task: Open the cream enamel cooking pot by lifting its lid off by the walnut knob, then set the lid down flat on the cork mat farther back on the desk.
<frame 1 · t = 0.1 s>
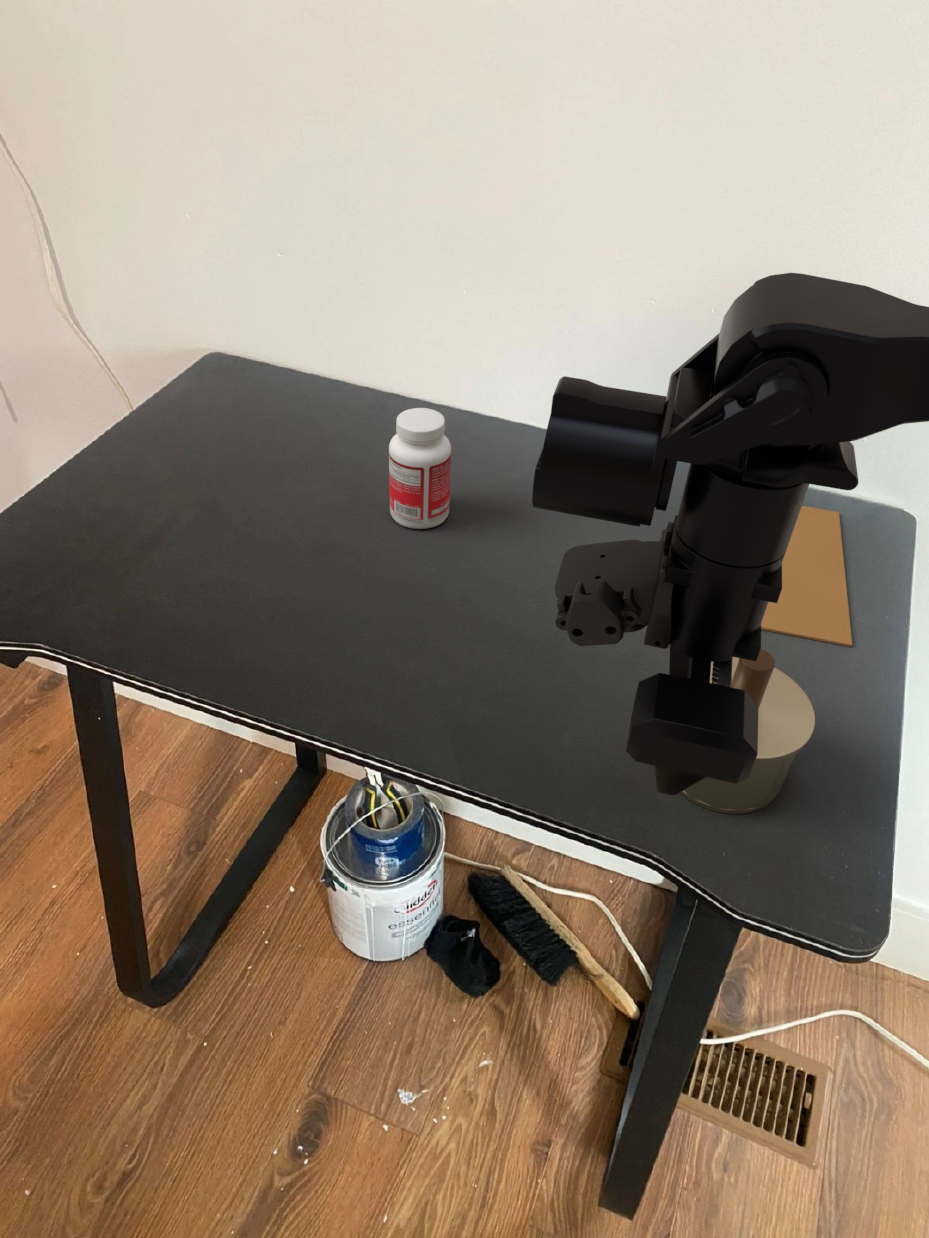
hand: (671, 735, 58), 12 cm above the table, tool pointing down, fingers open, 9 cm apart
pot: (720, 764, 72), on the table
lid: (740, 707, 68), point 6 cm above the table, touching pot
pill bottle: (419, 515, 96), on the table
mat: (772, 561, 92), on the table
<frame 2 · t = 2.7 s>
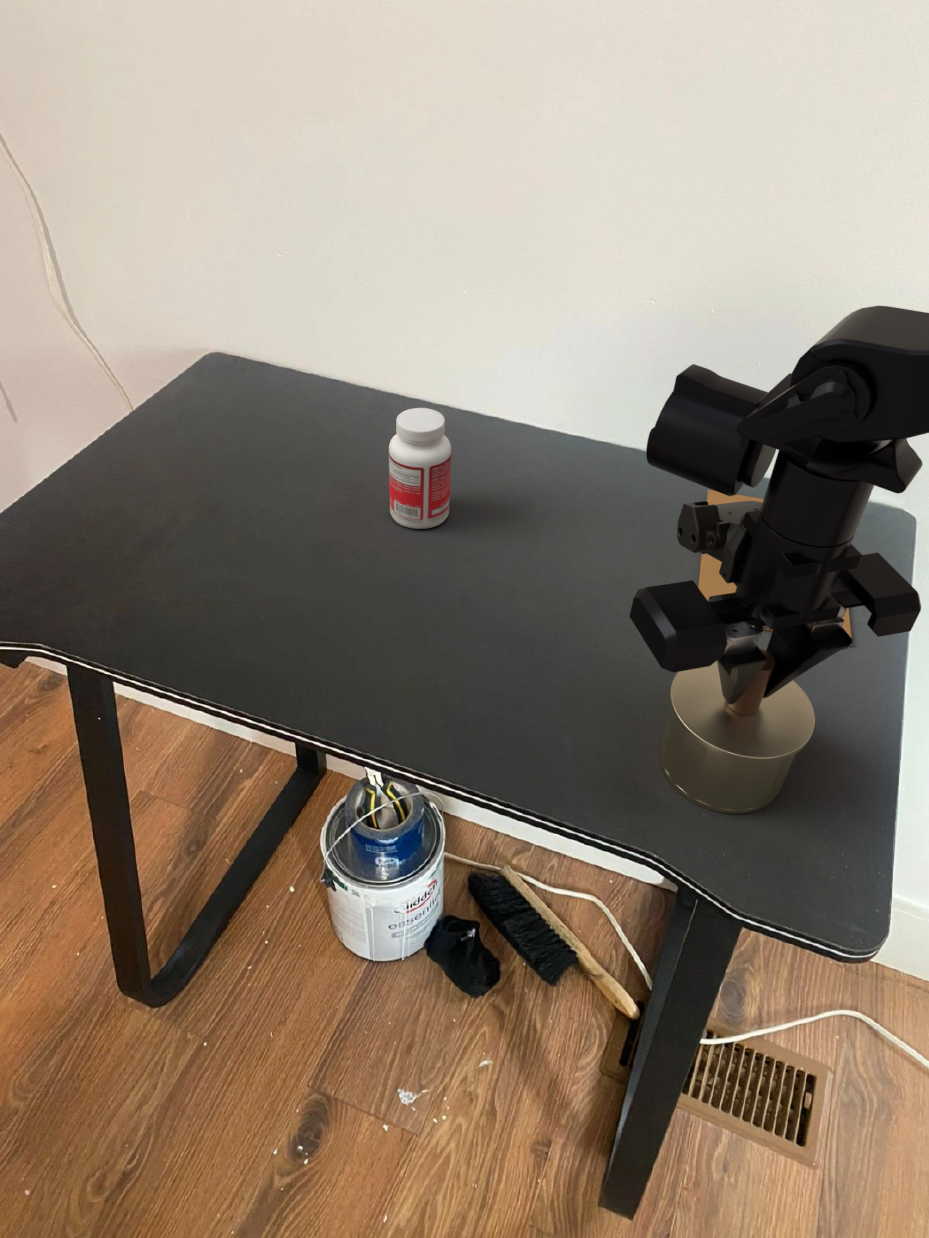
hand: (744, 696, 67), 8 cm above the table, tool pointing down, fingers closed on lid, 2 cm apart
lid: (740, 707, 68), point 6 cm above the table, touching gripper, pot
everything else where it was.
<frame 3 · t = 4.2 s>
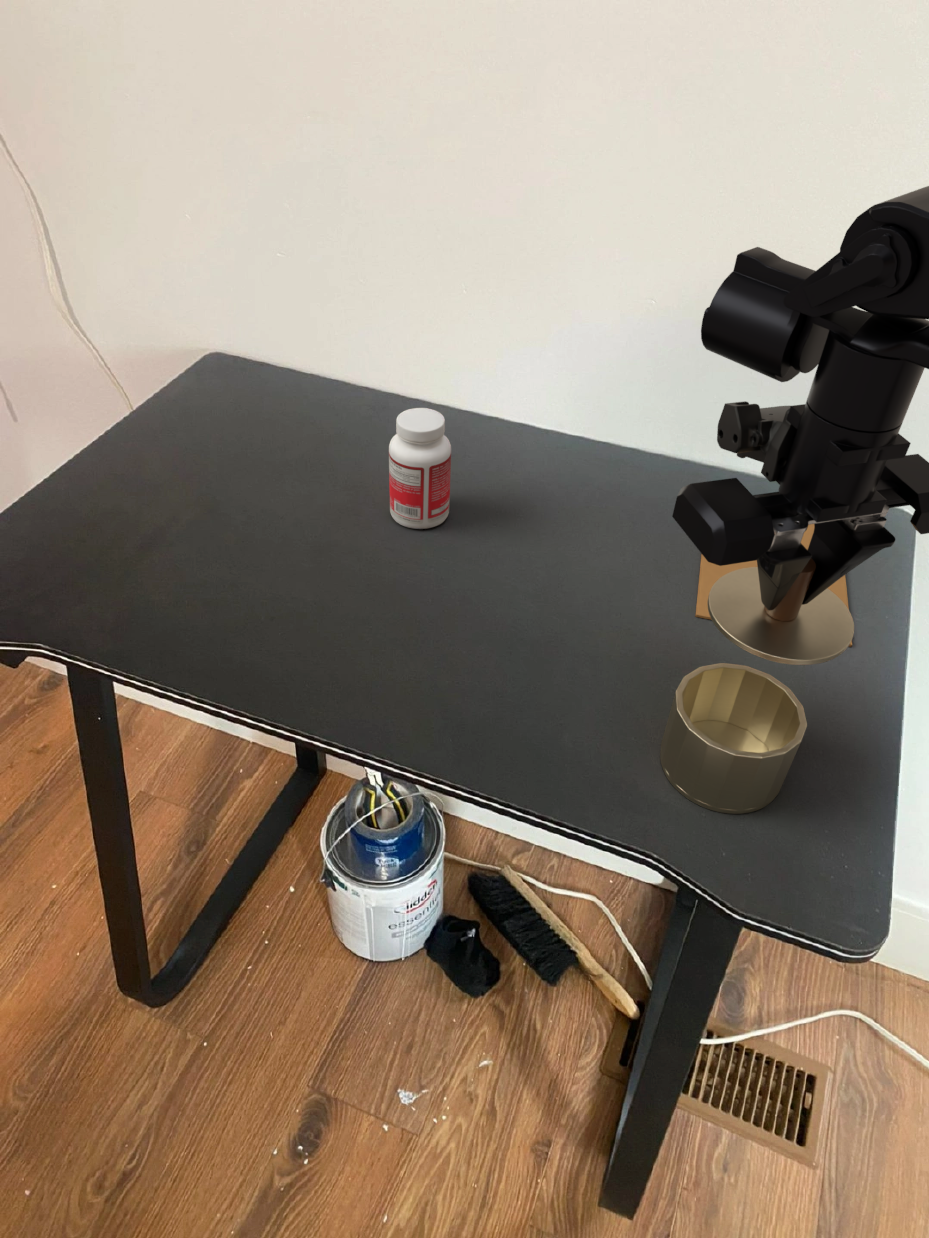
hand: (783, 603, 67), 13 cm above the table, tool pointing down, fingers closed on lid, 2 cm apart
lid: (778, 615, 67), point 12 cm above the table, touching gripper
everything else where it was.
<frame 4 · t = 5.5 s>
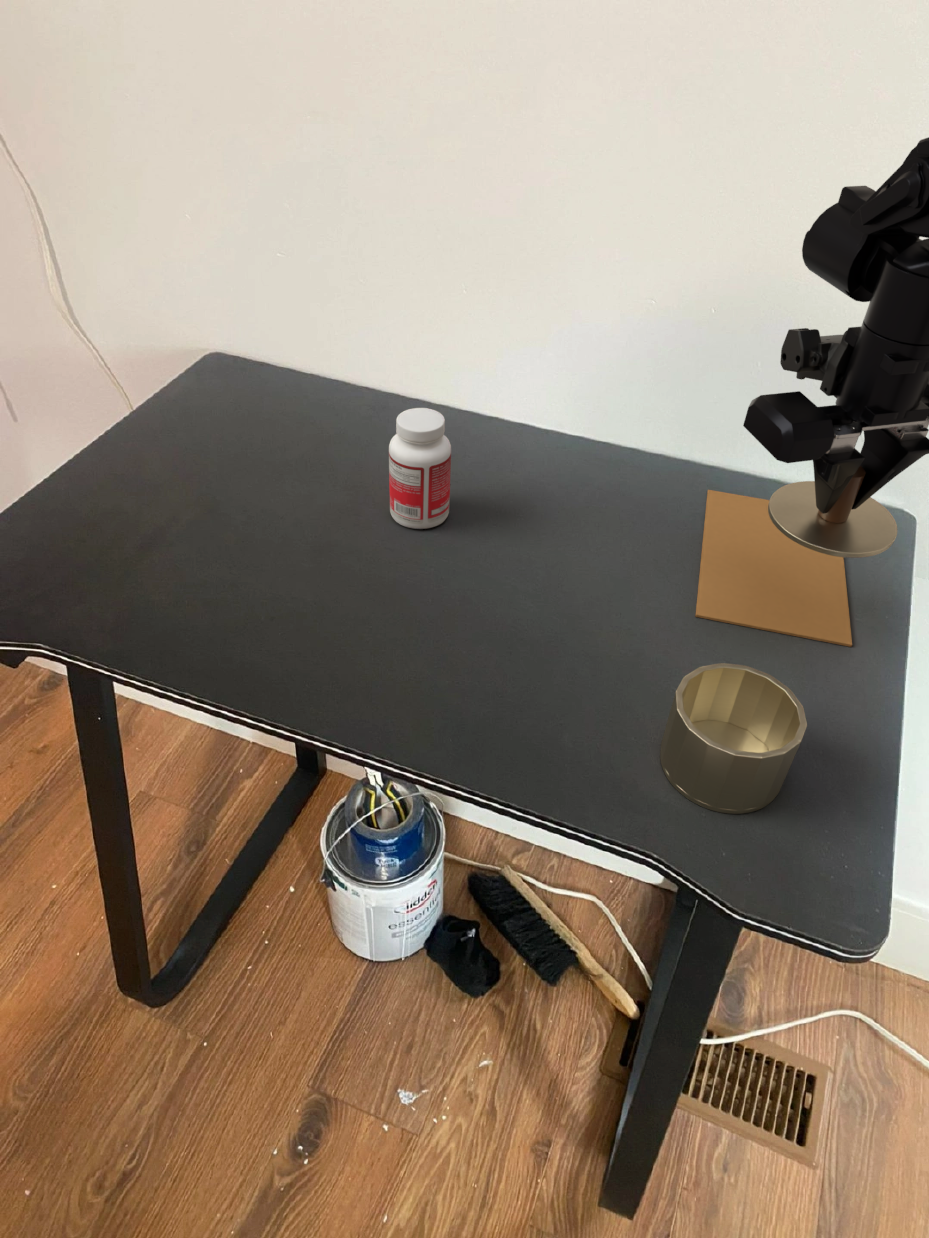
hand: (835, 508, 76), 13 cm above the table, tool pointing down, fingers closed on lid, 2 cm apart
lid: (830, 520, 77), point 12 cm above the table, touching gripper
everything else where it was.
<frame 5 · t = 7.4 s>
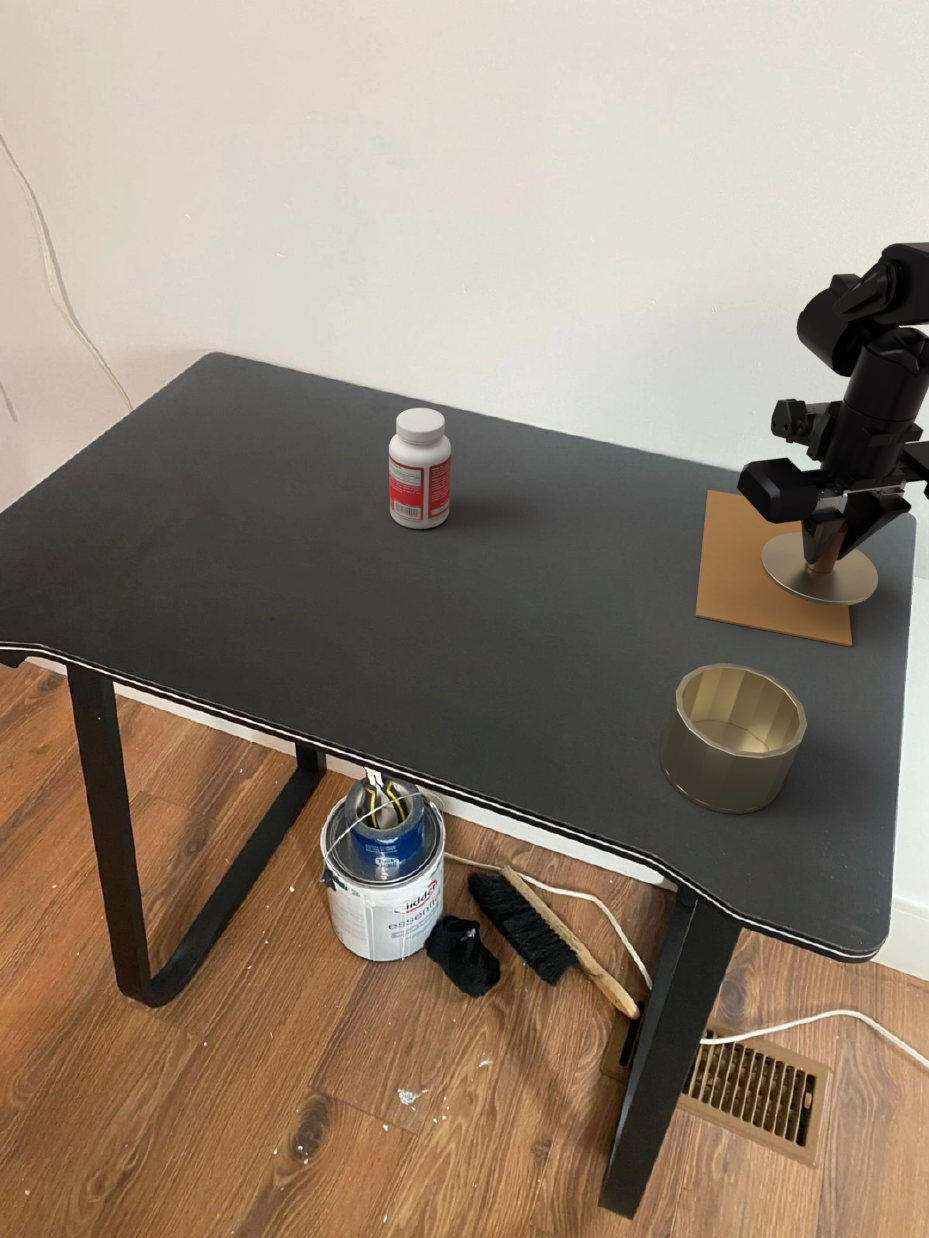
hand: (822, 559, 84), 5 cm above the table, tool pointing down, fingers closed on lid, 2 cm apart
lid: (817, 569, 84), point 4 cm above the table, touching gripper
everything else where it was.
when the fingers open (2 cm above the table, at t = 8.5 s): lid stays where it is, resting on mat.
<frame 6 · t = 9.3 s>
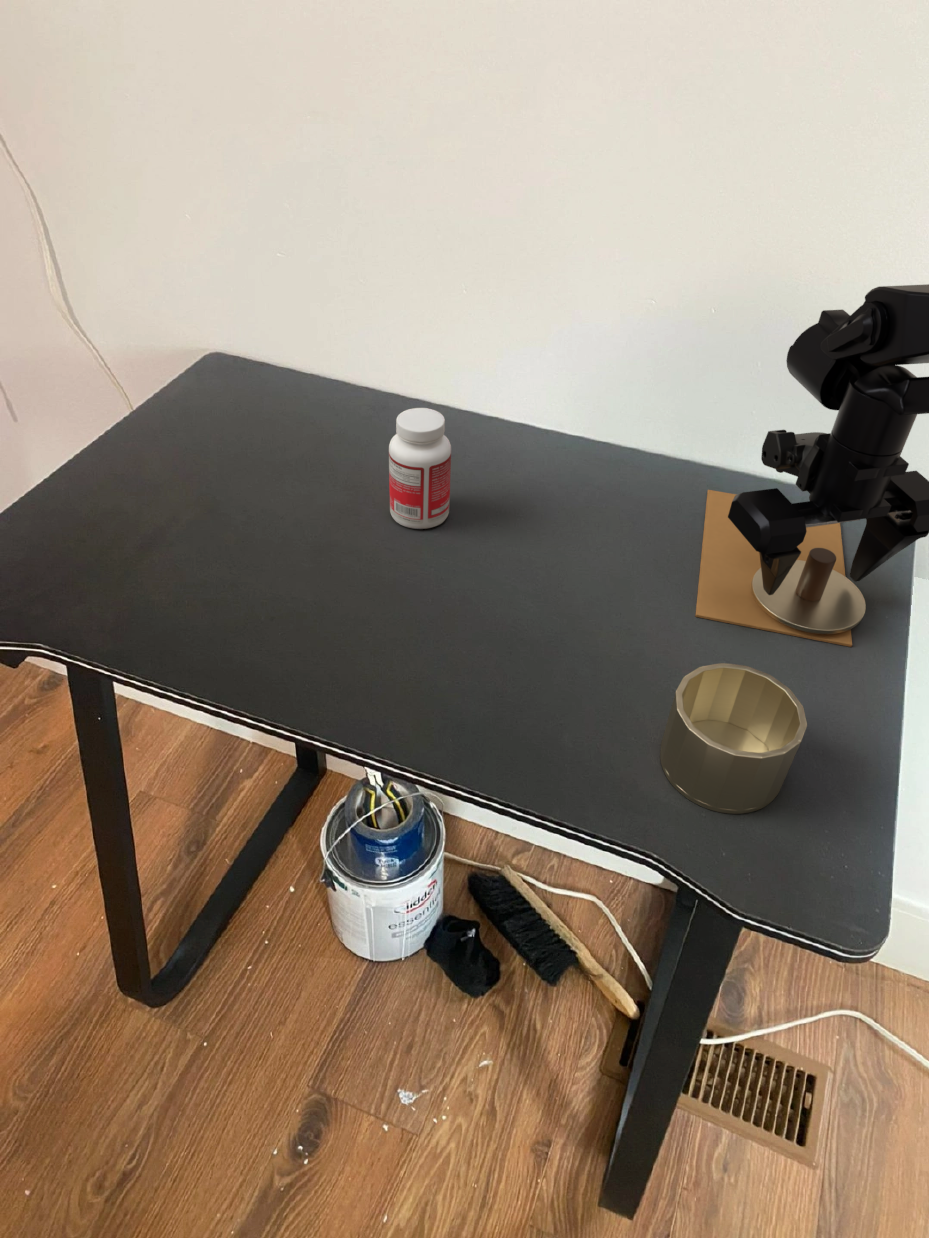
hand: (811, 585, 86), 2 cm above the table, tool pointing down, fingers open, 9 cm apart
lid: (807, 597, 87), point 1 cm above the table, touching mat
everything else where it was.
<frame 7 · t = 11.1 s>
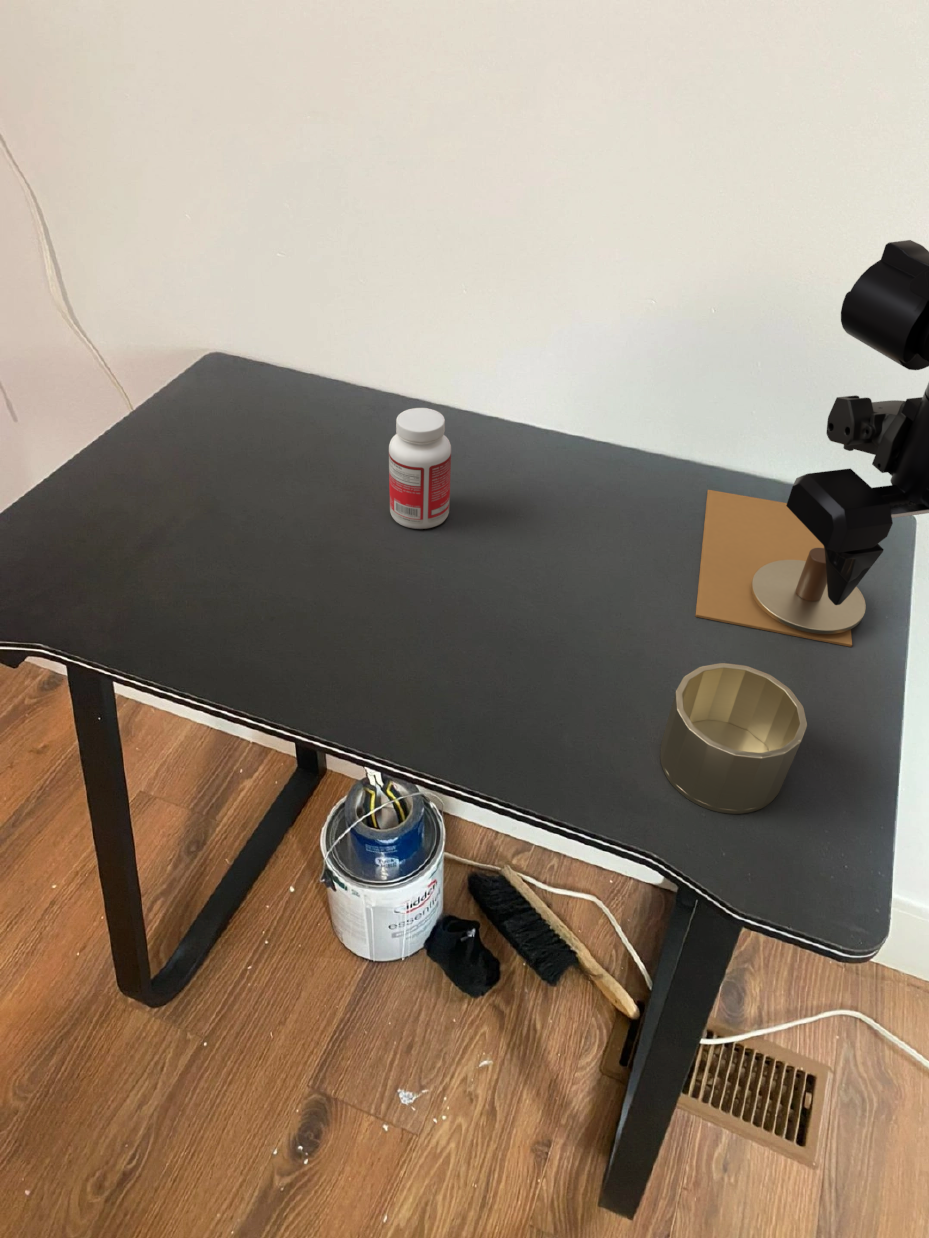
hand: (887, 592, 68), 13 cm above the table, tool pointing down, fingers open, 9 cm apart
nothing on the table moved.
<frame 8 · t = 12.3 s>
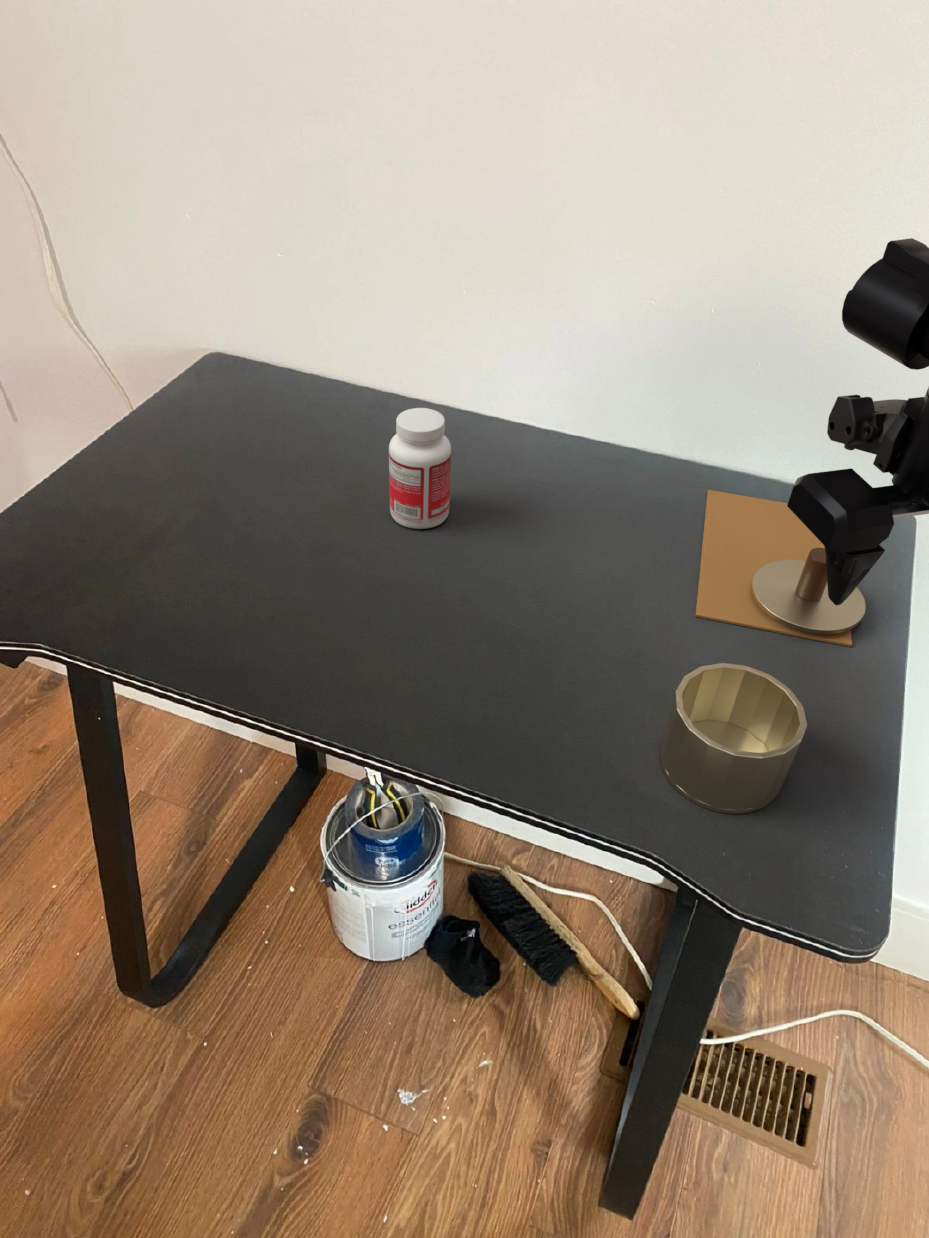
hand: (887, 592, 68), 13 cm above the table, tool pointing down, fingers open, 9 cm apart
nothing on the table moved.
at the end: lid inside the target area on the mat (0.0 cm from its centre), point 0.9 cm above the mat's base; lid tilted 0°; the gripper is holding nothing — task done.
